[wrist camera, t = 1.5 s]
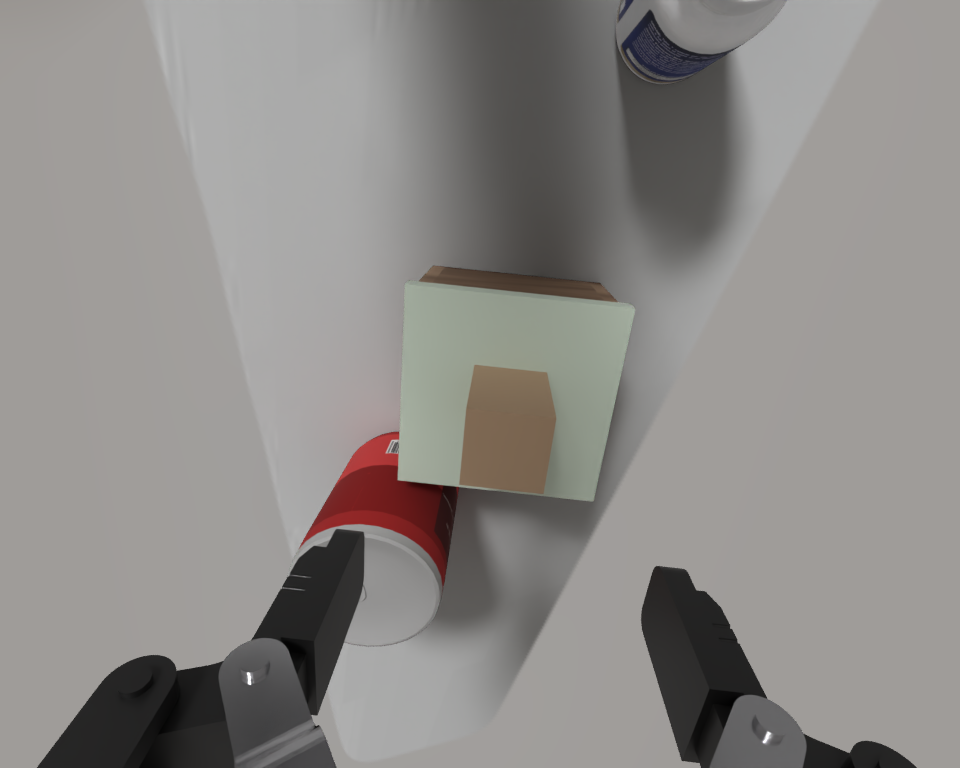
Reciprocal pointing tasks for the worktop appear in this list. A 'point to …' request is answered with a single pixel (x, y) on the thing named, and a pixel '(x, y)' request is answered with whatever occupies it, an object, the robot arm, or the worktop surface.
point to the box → (517, 283)
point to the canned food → (390, 542)
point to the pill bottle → (686, 33)
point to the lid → (508, 388)
